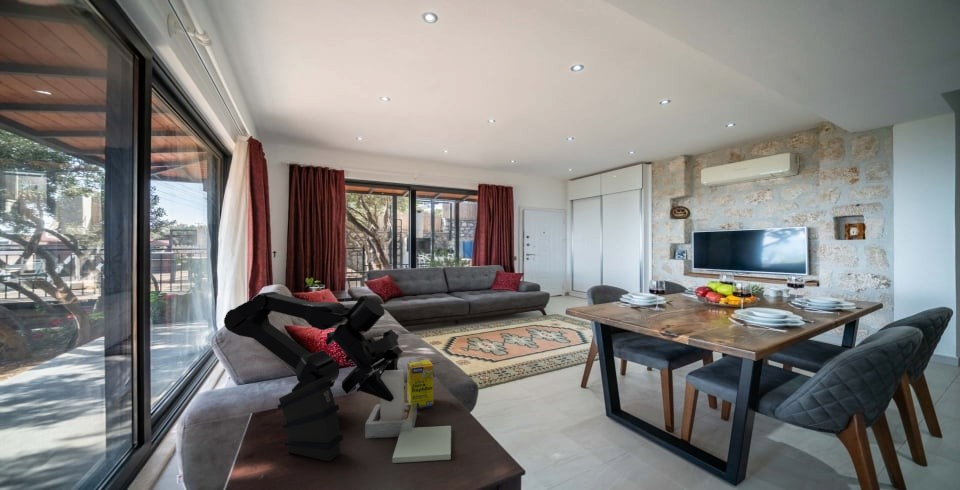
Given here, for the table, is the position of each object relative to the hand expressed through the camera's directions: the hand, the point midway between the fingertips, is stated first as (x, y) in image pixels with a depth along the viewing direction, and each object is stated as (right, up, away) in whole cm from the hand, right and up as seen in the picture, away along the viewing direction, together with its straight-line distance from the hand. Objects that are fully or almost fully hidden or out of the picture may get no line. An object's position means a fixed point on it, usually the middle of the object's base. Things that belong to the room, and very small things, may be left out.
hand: (398, 394), depth 78 cm
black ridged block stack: (-16, -7, -10) cm, 20 cm away
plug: (-1, -7, 0) cm, 7 cm away
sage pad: (+7, -7, -8) cm, 13 cm away
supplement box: (+3, -8, +11) cm, 14 cm away
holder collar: (-1, -7, 0) cm, 7 cm away
